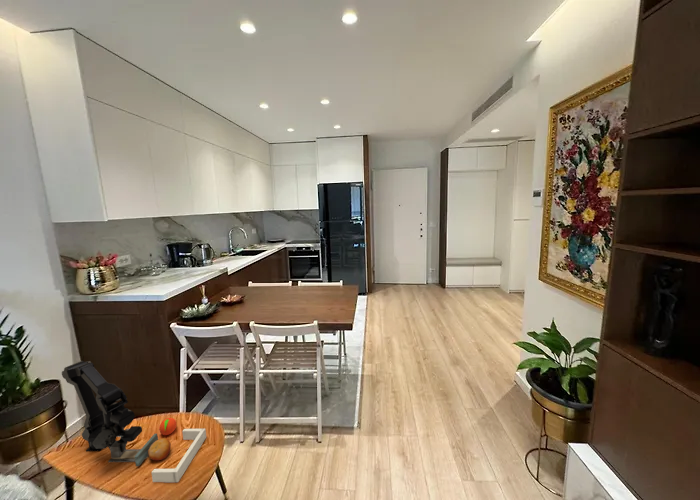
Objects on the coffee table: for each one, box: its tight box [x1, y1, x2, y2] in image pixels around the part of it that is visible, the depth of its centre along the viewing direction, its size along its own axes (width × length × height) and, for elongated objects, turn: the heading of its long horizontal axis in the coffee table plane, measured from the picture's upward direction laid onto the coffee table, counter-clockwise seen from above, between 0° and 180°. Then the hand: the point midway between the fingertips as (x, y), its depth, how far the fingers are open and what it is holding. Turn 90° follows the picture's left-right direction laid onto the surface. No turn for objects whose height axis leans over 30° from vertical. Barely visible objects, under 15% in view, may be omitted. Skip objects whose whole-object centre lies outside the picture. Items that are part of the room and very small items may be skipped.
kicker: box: [109, 433, 159, 467], centre depth 123 cm, size 15×12×6 cm
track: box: [107, 448, 142, 463], centre depth 124 cm, size 13×6×1 cm, turn 90°
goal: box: [151, 428, 207, 483], centre depth 122 cm, size 10×22×4 cm, turn 0°
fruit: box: [148, 437, 172, 461], centre depth 124 cm, size 8×8×8 cm
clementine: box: [158, 417, 177, 436], centre depth 135 cm, size 8×7×7 cm
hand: (118, 451), depth 123 cm, fingers closed on kicker, 3 cm apart
